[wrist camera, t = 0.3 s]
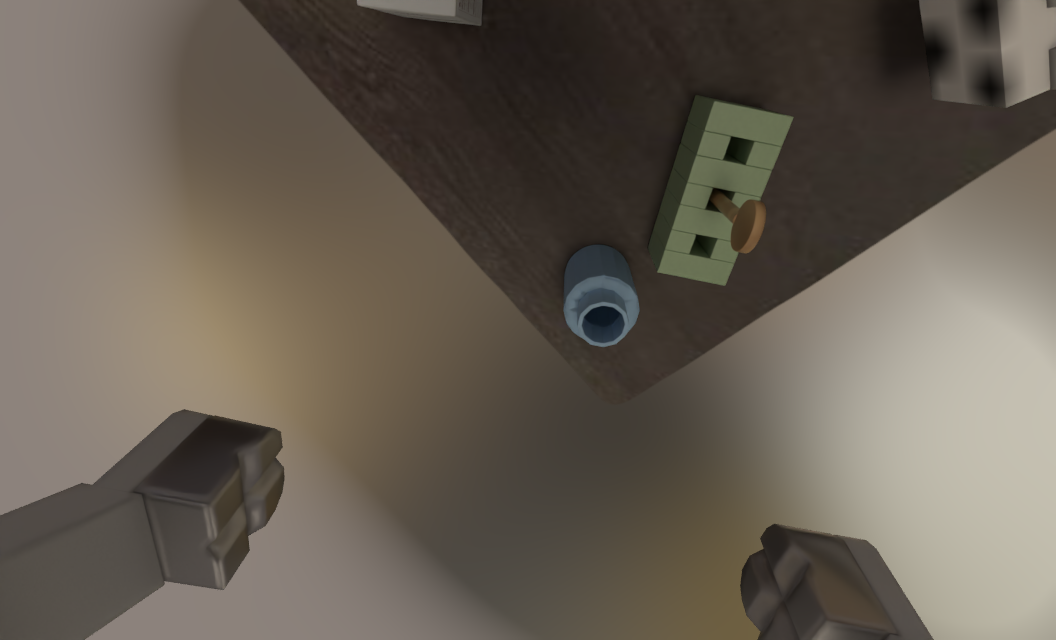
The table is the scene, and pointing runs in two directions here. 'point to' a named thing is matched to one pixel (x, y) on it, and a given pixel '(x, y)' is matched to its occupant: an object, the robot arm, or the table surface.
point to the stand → (713, 185)
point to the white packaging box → (431, 9)
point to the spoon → (741, 220)
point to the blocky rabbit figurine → (989, 49)
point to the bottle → (599, 295)
